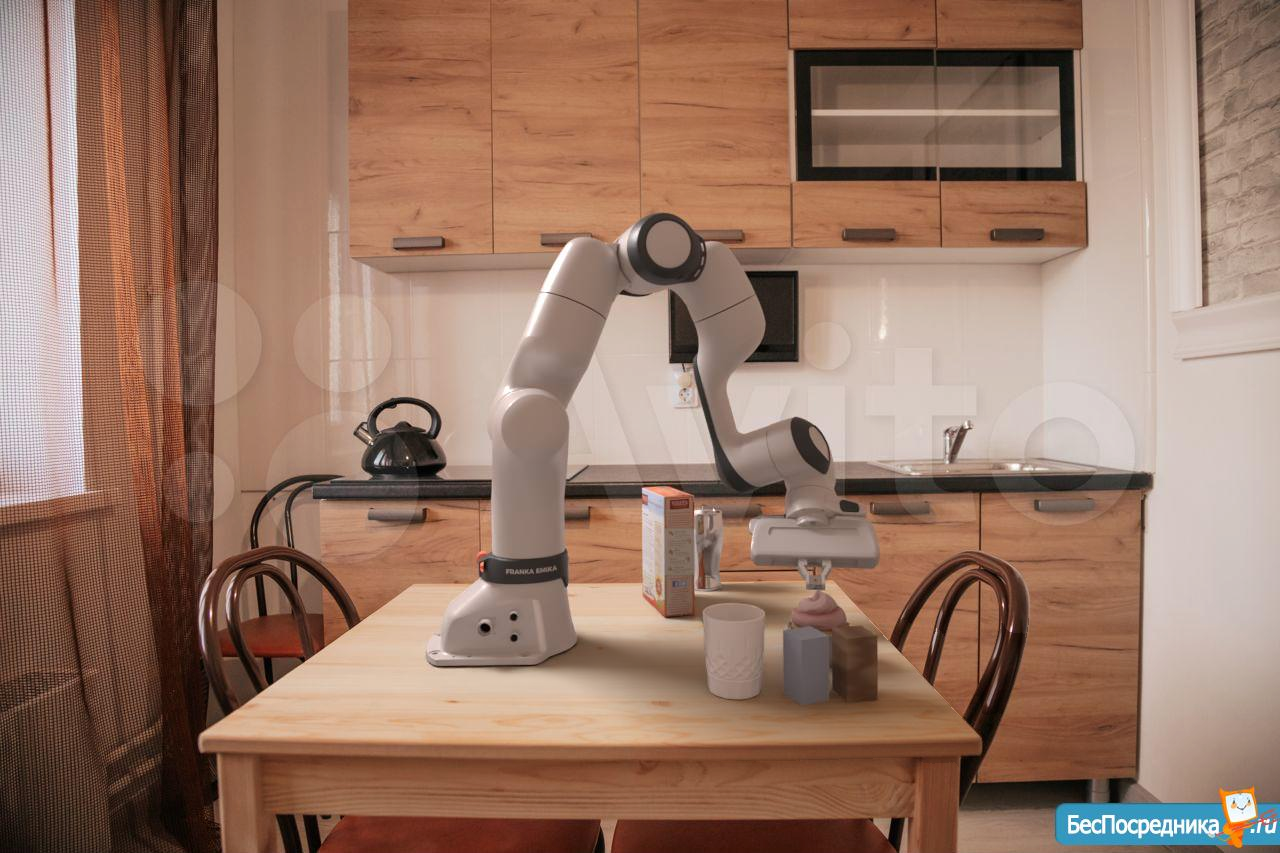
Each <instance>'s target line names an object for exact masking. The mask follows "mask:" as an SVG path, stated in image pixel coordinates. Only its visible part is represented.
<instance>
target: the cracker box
mask: <svg viewBox="0 0 1280 853" xmlns="http://www.w3.org/2000/svg"><path fill="white" fill-rule="evenodd" d="M641 504H642V505H641V520H642V522H641V523H642V524H641V526H642V529H641V530H642V531H641V532H642V533H641V535H642V540H641V541H642V542H641V543H642V547H641V548H642V550H641V551H642V597H644V599H646V600H647V602H648V603H650V604H651V605H652V606H653V607H654V609H656V610H657V612H659V613H660V614H661V615H662V617H665V618H667V617H679V616H691V615H695V613H696V612H695V598H696V597H695V591H696V590H694V589H695V583H694V568H695V567H694V510H695V495H694V494H691V493H688V492H686V491H683V490H679V489H677V488H674V487H672V486H646V487H645V486H644V487H642V488H641Z"/></svg>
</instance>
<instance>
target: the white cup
mask: <svg viewBox="0 0 1280 853" xmlns="http://www.w3.org/2000/svg"><path fill="white" fill-rule="evenodd" d="M702 624H703V625H702V626H703V643H704V656H705V668H706V677H707V679H706V680H707V687H708V690H709V692H710V693H711V694H713V695H715V696H717V697H719V698H722V699H727V700H739V701H740V700H747V699H751V698H754V697H755V696H758V695H759V694H760V692H761V690H762V677H763V675H762V674H763V673H762V671H763V666H764V652H765V629H766V626H765V624H766V612H765V610H763V609H762V608H761V607H758V606H756V605H752V604H746V603H739V602H724V603H716V604H712V605H709V606H706V607H705V608H703V609H702Z"/></svg>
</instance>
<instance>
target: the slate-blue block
mask: <svg viewBox="0 0 1280 853" xmlns="http://www.w3.org/2000/svg"><path fill="white" fill-rule="evenodd" d="M782 651H783V652H782V658H783V659H782V664H783V665H782V667H783V670H782V671H783V672H782V673H783V674H782V679H783V685H782V686H783V694H785V696H788V697H789V698H790V699H792V700H793V701H794V702H796V703H797V704H799V705H800V706H806V705H811V704H816V703H820V702H821V703H822V702H826V701H830V666H829V635H827V634H825V633H823V632H821V631H819V630H817V629H815V628H813V627H811V626H807V627H800V628H793V629H788V628H787V629H782Z"/></svg>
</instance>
